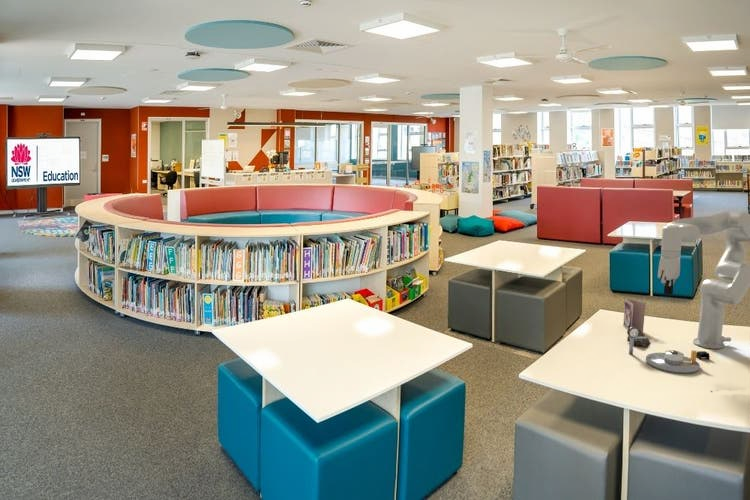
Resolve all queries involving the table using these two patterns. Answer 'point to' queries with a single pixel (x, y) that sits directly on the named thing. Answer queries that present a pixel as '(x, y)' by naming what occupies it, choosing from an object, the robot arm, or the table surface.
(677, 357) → the cover
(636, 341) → the fossil
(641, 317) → the greeting card
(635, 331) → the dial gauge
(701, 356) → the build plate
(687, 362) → the platter
